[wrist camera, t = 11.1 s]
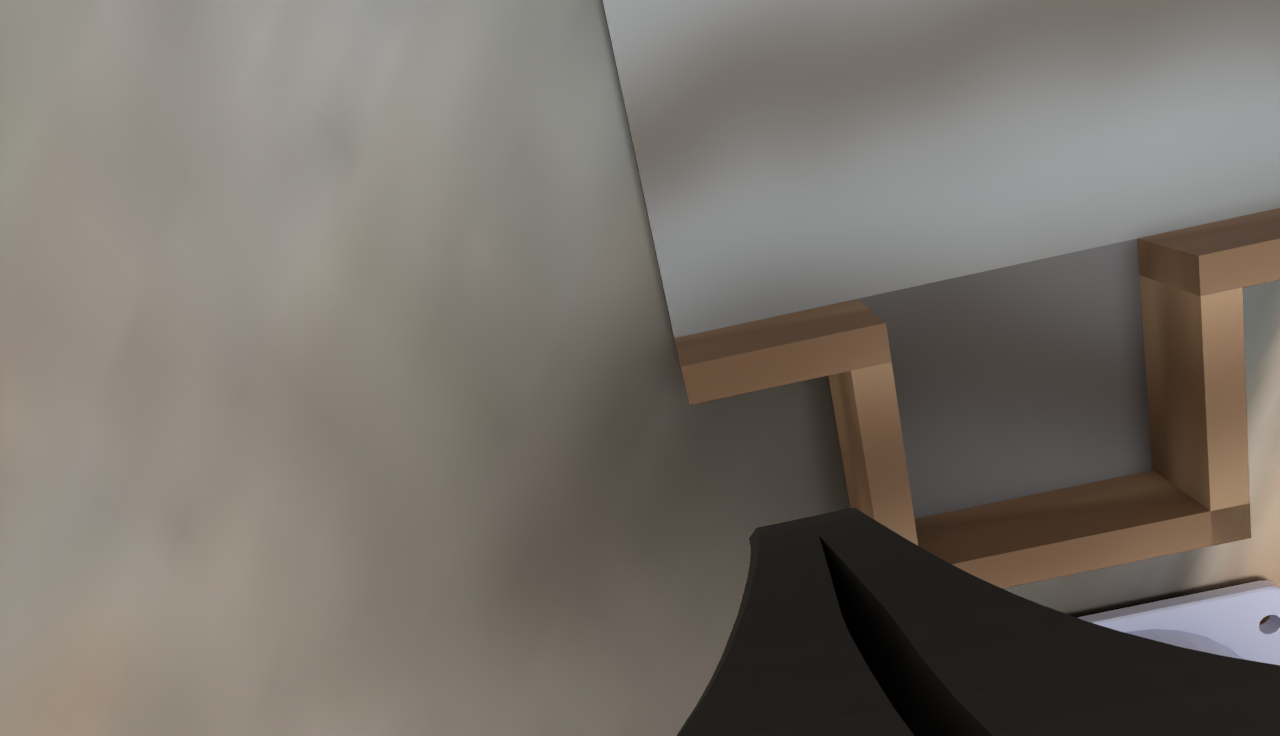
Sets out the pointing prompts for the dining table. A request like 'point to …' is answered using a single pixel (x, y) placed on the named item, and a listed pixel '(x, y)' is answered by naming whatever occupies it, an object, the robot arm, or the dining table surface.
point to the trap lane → (976, 250)
